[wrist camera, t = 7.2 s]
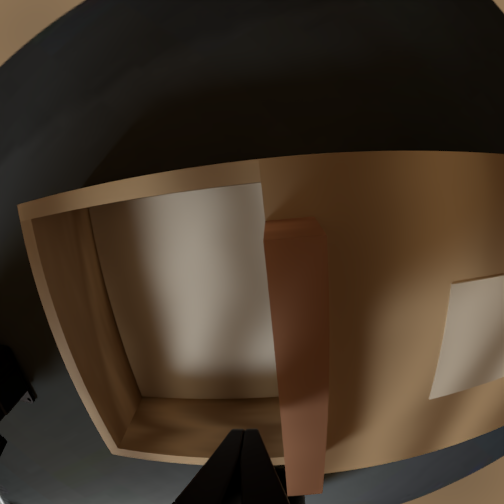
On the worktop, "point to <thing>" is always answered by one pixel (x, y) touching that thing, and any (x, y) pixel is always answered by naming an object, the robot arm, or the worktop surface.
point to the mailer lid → (383, 304)
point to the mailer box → (162, 307)
